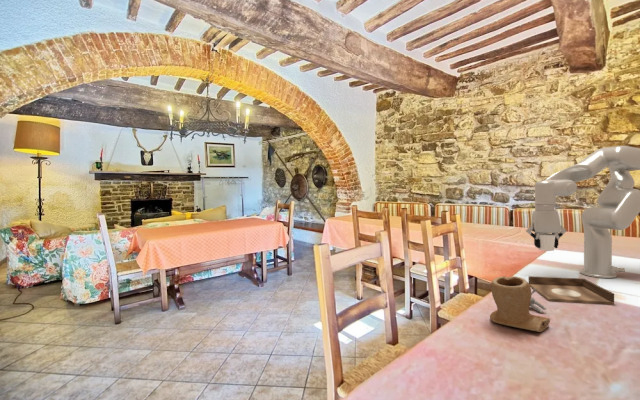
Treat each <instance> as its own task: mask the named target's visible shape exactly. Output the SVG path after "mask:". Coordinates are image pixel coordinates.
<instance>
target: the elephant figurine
mask: <svg viewBox="0 0 640 400" xmlns="http://www.w3.org/2000/svg"><path fill="white" fill-rule="evenodd" d="M535 292H536V288H535V289H534V290H533V289H532V291H531V301H530V306H529V307H531V308H532V309H534V310H536V311H537V312H538V313H540V314H543V313H544V311H546V310H547V307H546V306H544V305H543V304H541V303H540V302H538V301H537V300H536V299H535V298H534V297H532V296H533V294H534V293H535Z"/></svg>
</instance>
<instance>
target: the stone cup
mask: <svg viewBox="0 0 640 400" xmlns="http://www.w3.org/2000/svg"><path fill="white" fill-rule="evenodd" d="M490 289H491V294H492V295H491V296H492V298H493V300H494V303H495V305H496V309H497V310H494V311H493V312H491V313H490V314H489V318H490V320H491V321H492V322H493V323H496V324H499V325H504V326H508V327H513V328H517V329H522V330H527V331H533V332H539V333H541V332H543V331H545V330H546V329H547V328H548V327H549V326H550V322H551V319H550V318H548V317H543V316H539V315H534V314H531V313H530V307H531V306H530V301H531V297H532V295H531V292H532V288H531V287H530V285H529V281H528V280H526V279H525V278H523V277H521V276H515V275H514V276H513V275H512V276H498V277H496V278H494V279H492V281H491V282H490Z"/></svg>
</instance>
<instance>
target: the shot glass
mask: <svg viewBox="0 0 640 400" xmlns="http://www.w3.org/2000/svg"><path fill="white" fill-rule="evenodd" d="M539 239H540V248H538V250H540V251H546V252H547V251H548V252H551V251H555V248H554V244H555V235H554V234H552V233H541V234H540V235H539Z"/></svg>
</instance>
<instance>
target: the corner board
mask: <svg viewBox="0 0 640 400" xmlns="http://www.w3.org/2000/svg"><path fill="white" fill-rule="evenodd" d="M528 283H529V285H530V288H531V290H532V291H533V290H534V289H535V288H536V291H535V292H536V293H537V294H539V295H540V296H541V297H542V298H544V299H545V300H546V301H547V302H556V303H557V302H558V303H573V304H574V303H576V304H589V305H590V304H591V305H592V304H593V305H608V306H615V293H614V292H612V291H610V290H607V289H605V288H603V287H601V286H600V285H598V284H596V283H593V282H592V281H590V280H589V279H586V278H577V277H572V278H571V277H555V276H551V277H549V276H528Z"/></svg>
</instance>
